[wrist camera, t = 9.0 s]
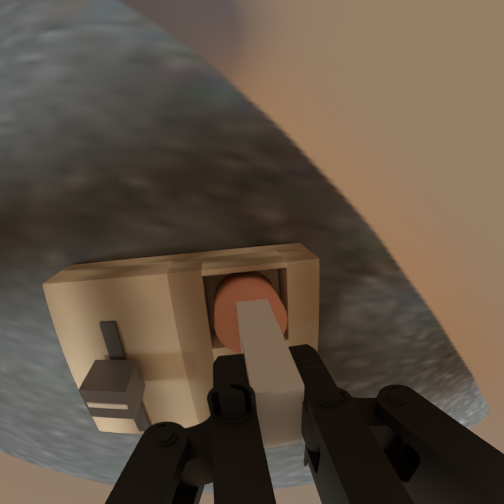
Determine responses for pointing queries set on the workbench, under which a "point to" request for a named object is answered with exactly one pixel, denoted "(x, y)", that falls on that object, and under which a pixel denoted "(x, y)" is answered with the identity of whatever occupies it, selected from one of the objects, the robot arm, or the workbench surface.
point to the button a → (238, 290)
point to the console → (171, 320)
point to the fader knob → (113, 389)
